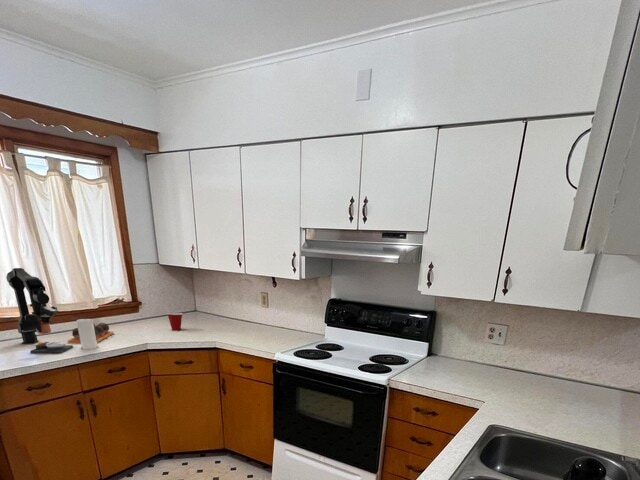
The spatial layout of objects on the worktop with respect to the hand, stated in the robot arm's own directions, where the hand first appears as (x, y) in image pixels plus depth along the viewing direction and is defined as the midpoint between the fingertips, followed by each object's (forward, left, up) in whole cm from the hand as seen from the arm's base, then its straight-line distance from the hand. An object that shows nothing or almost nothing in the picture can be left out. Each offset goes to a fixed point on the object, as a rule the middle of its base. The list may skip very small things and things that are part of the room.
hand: (44, 330), depth 236 cm
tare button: (-4, +1, -9) cm, 9 cm away
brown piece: (+10, +33, -12) cm, 36 cm away
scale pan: (+2, +1, -8) cm, 9 cm away
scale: (+2, +1, -11) cm, 11 cm away
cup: (+19, +9, -12) cm, 24 cm away
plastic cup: (+55, +64, -12) cm, 85 cm away
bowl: (0, 0, -1) cm, 1 cm away
